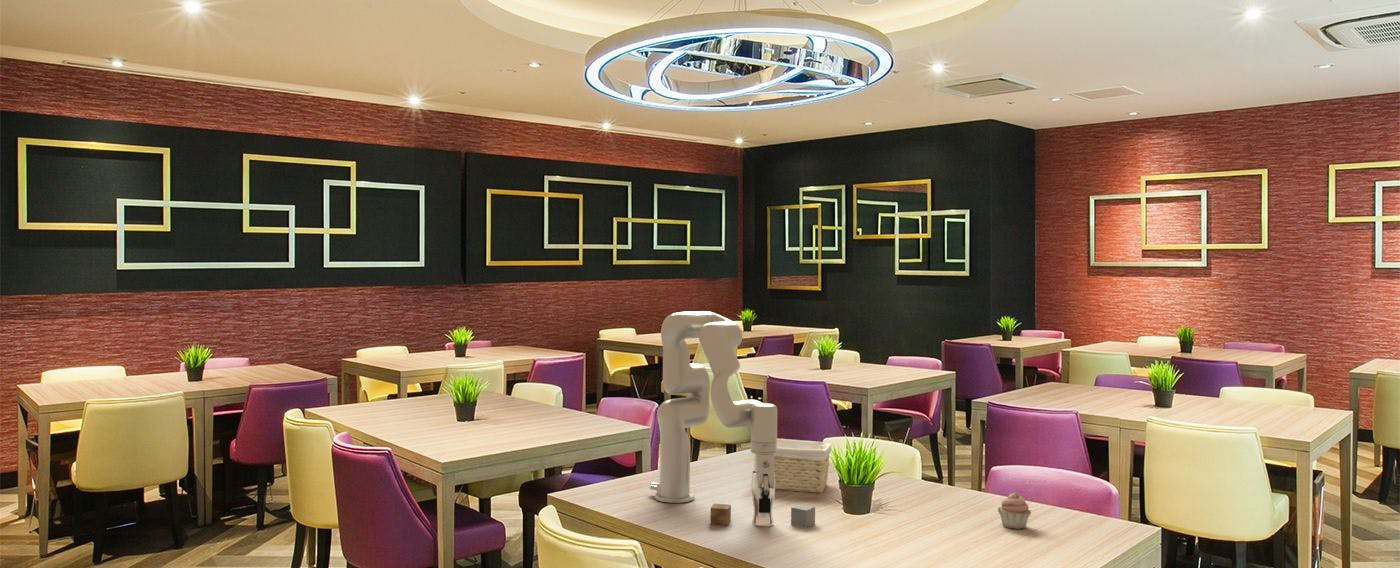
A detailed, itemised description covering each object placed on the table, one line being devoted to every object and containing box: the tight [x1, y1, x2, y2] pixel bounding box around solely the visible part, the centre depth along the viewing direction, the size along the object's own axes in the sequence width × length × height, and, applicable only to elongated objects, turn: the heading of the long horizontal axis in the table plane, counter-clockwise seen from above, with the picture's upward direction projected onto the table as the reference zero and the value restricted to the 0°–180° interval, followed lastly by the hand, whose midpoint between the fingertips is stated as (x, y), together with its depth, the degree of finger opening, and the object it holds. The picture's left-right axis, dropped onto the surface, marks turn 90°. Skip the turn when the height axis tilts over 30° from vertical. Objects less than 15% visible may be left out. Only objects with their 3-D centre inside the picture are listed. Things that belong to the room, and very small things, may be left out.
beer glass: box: [750, 470, 776, 528], centre depth 262 cm, size 7×7×15 cm
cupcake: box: [997, 492, 1032, 530], centre depth 263 cm, size 9×9×10 cm
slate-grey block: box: [790, 503, 816, 529], centre depth 263 cm, size 5×5×5 cm
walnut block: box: [709, 503, 732, 527], centre depth 262 cm, size 5×5×5 cm
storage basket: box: [774, 438, 832, 494], centre depth 308 cm, size 24×16×15 cm
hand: (762, 508), depth 262 cm, fingers closed on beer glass, 6 cm apart
